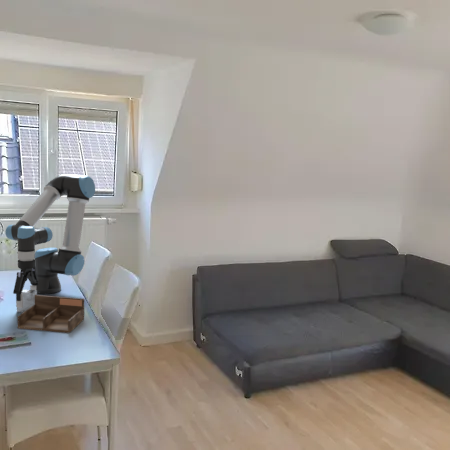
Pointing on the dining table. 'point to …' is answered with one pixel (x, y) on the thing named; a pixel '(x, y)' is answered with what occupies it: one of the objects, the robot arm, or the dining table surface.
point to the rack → (53, 314)
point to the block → (27, 300)
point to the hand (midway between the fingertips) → (26, 302)
